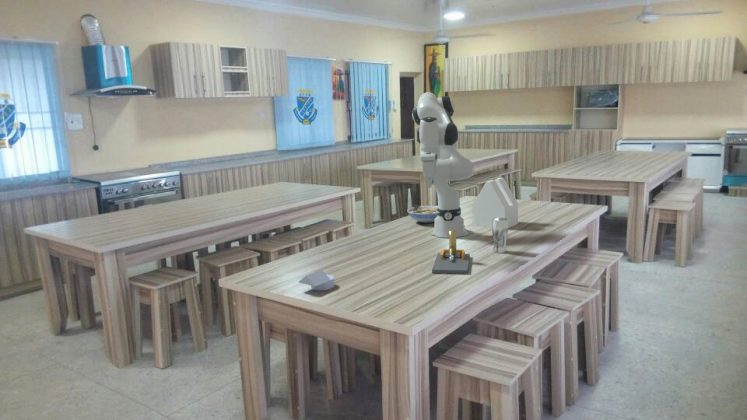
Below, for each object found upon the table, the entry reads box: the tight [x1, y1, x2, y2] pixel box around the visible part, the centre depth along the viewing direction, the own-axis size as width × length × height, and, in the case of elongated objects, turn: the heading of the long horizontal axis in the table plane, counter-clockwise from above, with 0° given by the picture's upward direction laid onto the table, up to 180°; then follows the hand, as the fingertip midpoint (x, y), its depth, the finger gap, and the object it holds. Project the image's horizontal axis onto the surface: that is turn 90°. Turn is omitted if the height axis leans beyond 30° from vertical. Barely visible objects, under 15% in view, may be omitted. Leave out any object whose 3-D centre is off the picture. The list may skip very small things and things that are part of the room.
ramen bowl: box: [406, 203, 438, 224], centre depth 312 cm, size 25×23×8 cm
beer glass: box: [491, 218, 509, 254], centre depth 245 cm, size 7×7×15 cm
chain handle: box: [446, 230, 460, 261], centre depth 233 cm, size 12×6×11 cm, turn 168°
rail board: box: [431, 248, 471, 275], centre depth 230 cm, size 24×14×4 cm, turn 168°
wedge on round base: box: [298, 269, 335, 291], centre depth 208 cm, size 9×7×13 cm
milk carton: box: [471, 177, 519, 229], centre depth 297 cm, size 19×15×25 cm
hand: (430, 185), depth 243 cm, fingers open, 8 cm apart
